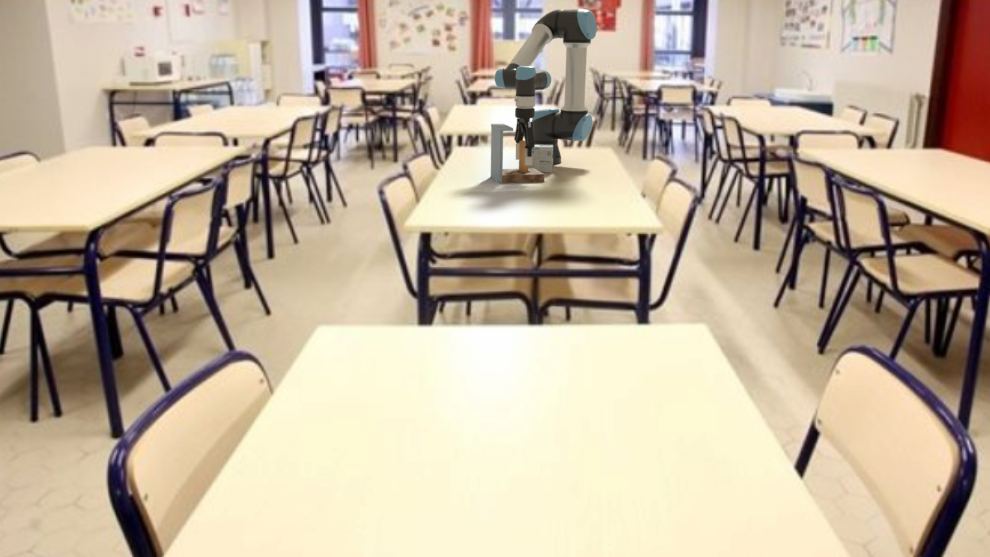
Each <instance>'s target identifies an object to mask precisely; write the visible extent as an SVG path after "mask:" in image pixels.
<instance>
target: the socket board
mask: <svg viewBox="0 0 990 557" xmlns="http://www.w3.org/2000/svg"><path fill="white" fill-rule="evenodd" d="M514 183H515V184H517V183H520V184H522V183H545V173H544V172H540V171H538V170H536V169H535V168H528V173H519V168H503V172H502V183H501V184H514Z"/></svg>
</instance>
